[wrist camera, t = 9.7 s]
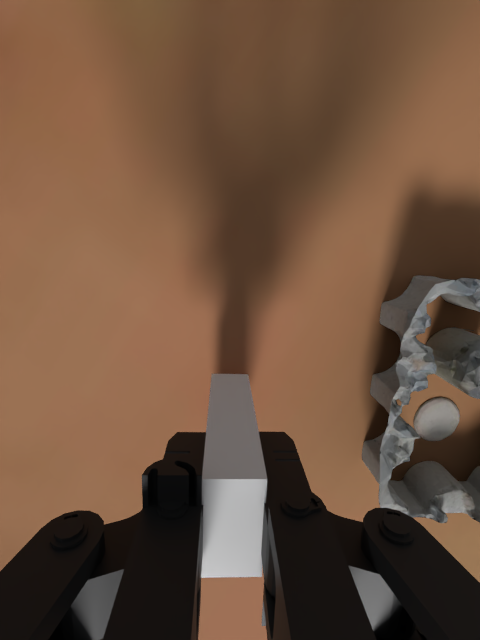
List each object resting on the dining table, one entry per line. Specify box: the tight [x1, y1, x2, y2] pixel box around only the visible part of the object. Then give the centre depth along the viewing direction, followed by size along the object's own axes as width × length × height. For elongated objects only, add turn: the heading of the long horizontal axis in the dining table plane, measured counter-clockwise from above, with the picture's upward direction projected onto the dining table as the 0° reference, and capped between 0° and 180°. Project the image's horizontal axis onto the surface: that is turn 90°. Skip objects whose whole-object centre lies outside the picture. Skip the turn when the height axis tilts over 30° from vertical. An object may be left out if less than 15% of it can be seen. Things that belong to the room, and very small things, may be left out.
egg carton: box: [362, 275, 480, 523], centre depth 14 cm, size 11×8×4 cm
